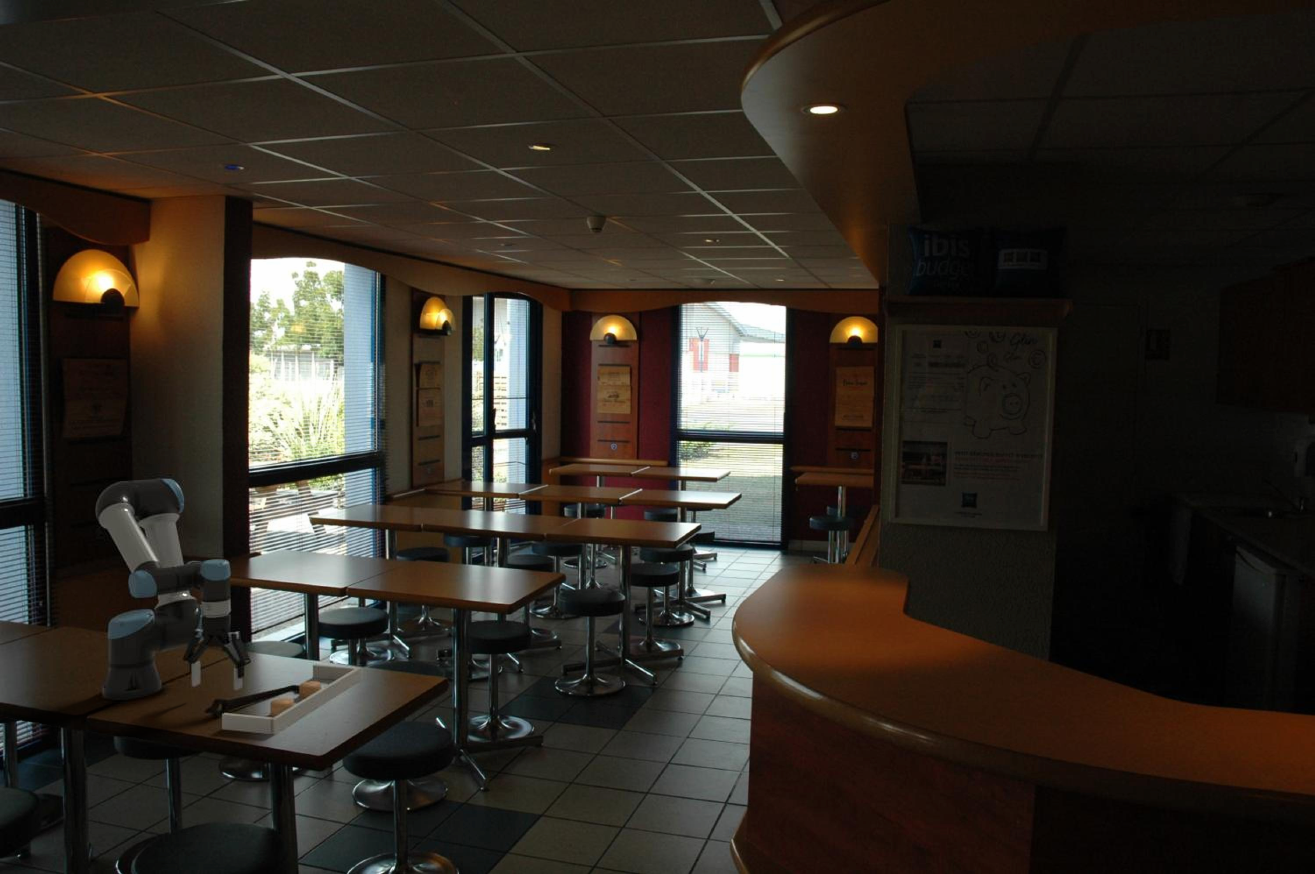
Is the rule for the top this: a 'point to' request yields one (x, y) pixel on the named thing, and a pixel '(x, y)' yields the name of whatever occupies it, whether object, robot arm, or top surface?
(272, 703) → the puck
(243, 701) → the black hooked stick
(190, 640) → the robot arm
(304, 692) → the puck
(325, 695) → the chip tray
